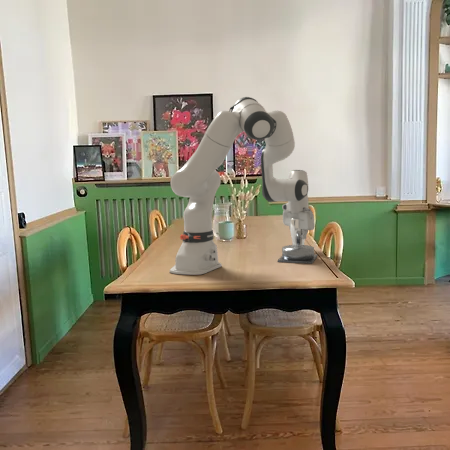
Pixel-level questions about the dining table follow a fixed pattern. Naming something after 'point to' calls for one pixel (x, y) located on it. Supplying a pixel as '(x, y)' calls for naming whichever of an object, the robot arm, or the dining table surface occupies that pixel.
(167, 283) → the dining table surface
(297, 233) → the pale grey rectangular box
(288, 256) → the duct stub
